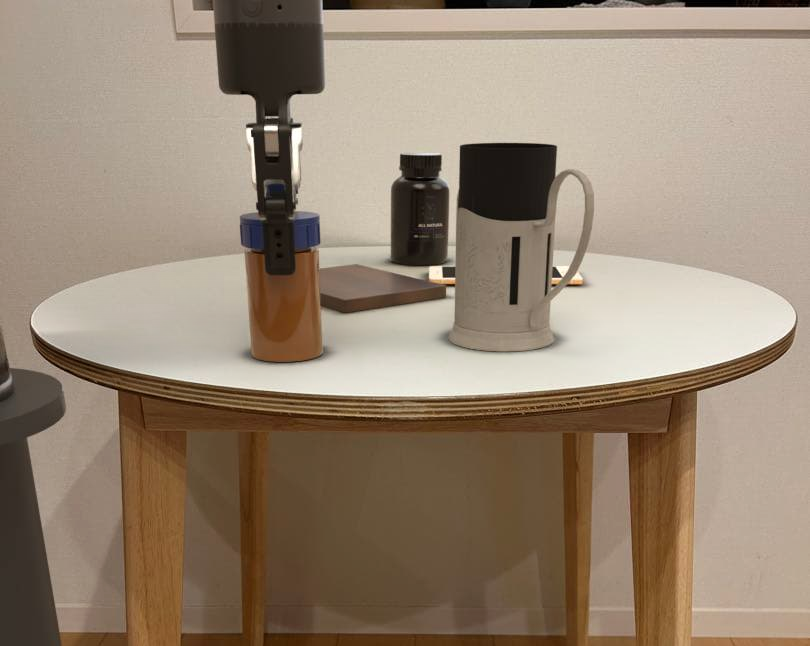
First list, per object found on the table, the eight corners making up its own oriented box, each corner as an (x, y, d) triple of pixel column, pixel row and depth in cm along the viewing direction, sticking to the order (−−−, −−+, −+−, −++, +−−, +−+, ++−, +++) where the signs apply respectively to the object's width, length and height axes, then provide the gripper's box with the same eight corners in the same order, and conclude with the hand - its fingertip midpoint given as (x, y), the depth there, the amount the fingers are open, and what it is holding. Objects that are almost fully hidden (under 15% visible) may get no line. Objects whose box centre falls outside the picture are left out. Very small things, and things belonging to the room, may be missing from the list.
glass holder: (510, 322, 90) (517, 141, 83) (622, 356, 79) (640, 150, 72) (428, 334, 85) (429, 144, 79) (535, 372, 74) (546, 155, 68)
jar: (273, 365, 76) (265, 231, 72) (238, 351, 80) (229, 223, 76) (336, 354, 79) (331, 225, 75) (299, 341, 83) (293, 218, 79)
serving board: (345, 313, 93) (344, 299, 93) (261, 287, 105) (260, 275, 105) (446, 297, 100) (446, 285, 99) (356, 274, 112) (356, 263, 111)
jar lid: (320, 249, 74) (319, 219, 73) (238, 250, 73) (236, 220, 73) (320, 238, 79) (319, 210, 78) (244, 239, 79) (242, 211, 78)
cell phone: (583, 284, 105) (583, 278, 105) (428, 284, 105) (428, 278, 105) (573, 271, 112) (573, 266, 112) (428, 271, 112) (428, 265, 112)
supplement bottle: (429, 268, 116) (430, 156, 111) (379, 263, 119) (378, 154, 114) (458, 259, 121) (460, 152, 116) (410, 255, 124) (410, 150, 119)
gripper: (323, 13, 64) (333, 283, 71) (322, 25, 77) (330, 252, 84) (203, 13, 63) (225, 285, 70) (222, 25, 76) (239, 253, 83)
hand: (282, 266), depth 77 cm, fingers closed on jar lid, 6 cm apart
